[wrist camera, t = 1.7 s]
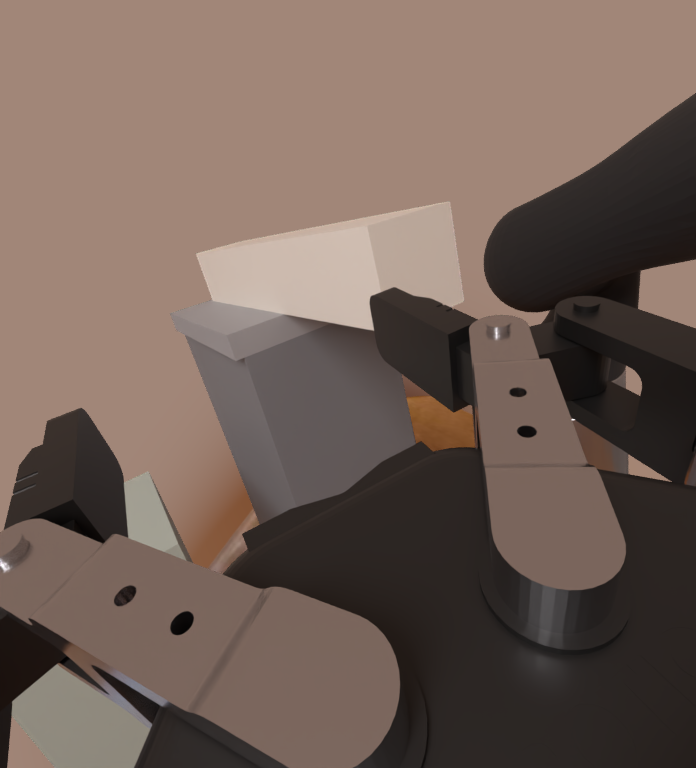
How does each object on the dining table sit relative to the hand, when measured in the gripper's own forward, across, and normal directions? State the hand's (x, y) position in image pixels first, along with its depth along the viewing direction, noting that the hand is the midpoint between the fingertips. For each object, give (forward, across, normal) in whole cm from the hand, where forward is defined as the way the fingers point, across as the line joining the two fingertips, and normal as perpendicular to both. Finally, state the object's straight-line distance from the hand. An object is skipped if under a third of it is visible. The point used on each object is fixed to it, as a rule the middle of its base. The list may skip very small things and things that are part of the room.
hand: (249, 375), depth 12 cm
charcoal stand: (+14, -4, +37) cm, 40 cm away
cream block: (+15, -6, +4) cm, 17 cm away
